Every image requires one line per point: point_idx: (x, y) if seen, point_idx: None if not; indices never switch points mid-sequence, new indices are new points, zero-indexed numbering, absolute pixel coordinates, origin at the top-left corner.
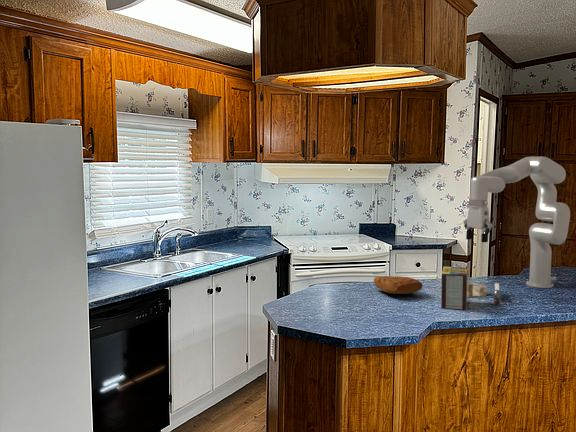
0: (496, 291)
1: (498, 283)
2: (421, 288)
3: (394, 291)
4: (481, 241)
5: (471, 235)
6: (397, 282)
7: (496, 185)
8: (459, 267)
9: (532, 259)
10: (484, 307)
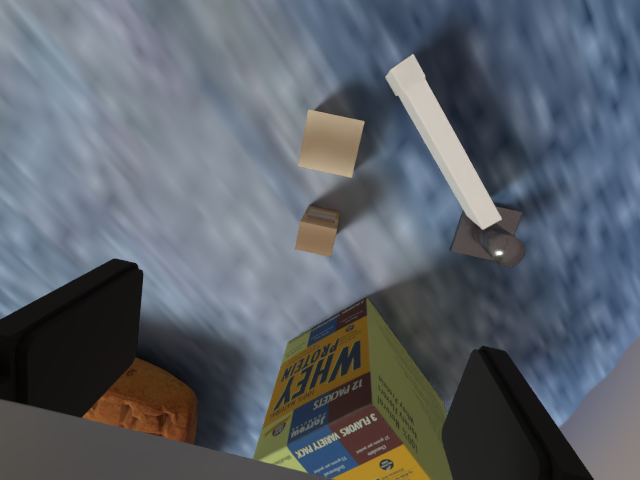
0: (510, 265)
1: (411, 57)
2: (195, 395)
3: None
4: (443, 439)
5: (102, 318)
6: None
7: None
8: (334, 429)
9: None
10: (472, 319)
